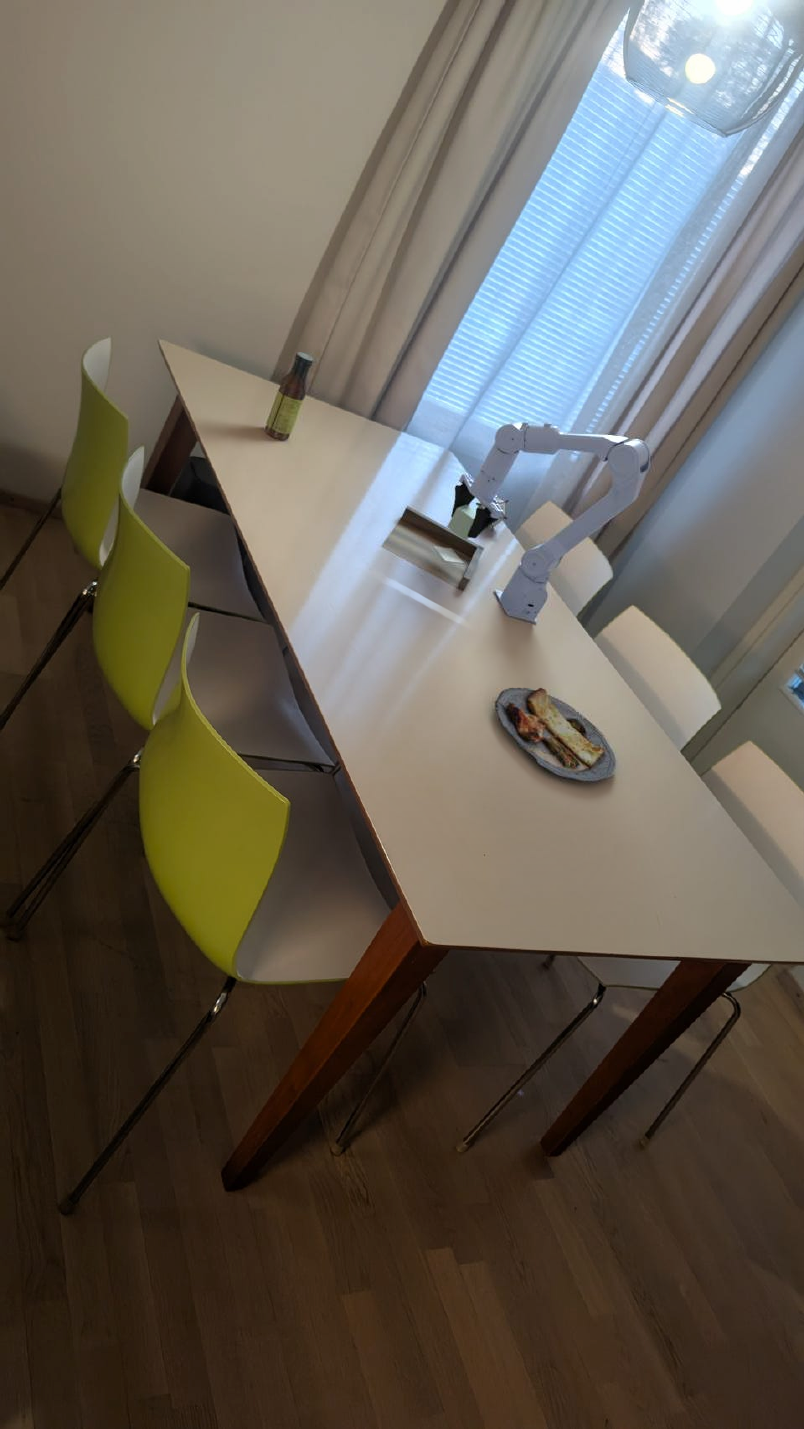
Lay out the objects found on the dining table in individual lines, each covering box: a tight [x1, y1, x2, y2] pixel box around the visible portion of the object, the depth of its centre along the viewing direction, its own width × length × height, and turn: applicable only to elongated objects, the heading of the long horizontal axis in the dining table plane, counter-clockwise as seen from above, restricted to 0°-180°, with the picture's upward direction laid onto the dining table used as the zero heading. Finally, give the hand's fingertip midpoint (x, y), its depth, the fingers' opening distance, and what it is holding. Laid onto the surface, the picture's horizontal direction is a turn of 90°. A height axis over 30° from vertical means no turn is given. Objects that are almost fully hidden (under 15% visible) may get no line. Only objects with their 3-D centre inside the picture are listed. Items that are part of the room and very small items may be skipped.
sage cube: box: [446, 504, 476, 540], centre depth 231 cm, size 5×5×5 cm
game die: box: [475, 497, 510, 531], centre depth 261 cm, size 9×8×10 cm
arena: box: [381, 505, 485, 592], centre depth 232 cm, size 20×20×4 cm
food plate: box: [494, 687, 617, 782], centre depth 193 cm, size 25×23×4 cm
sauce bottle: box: [264, 351, 314, 441], centre depth 243 cm, size 7×6×20 cm
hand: (463, 527), depth 232 cm, fingers closed on sage cube, 7 cm apart
